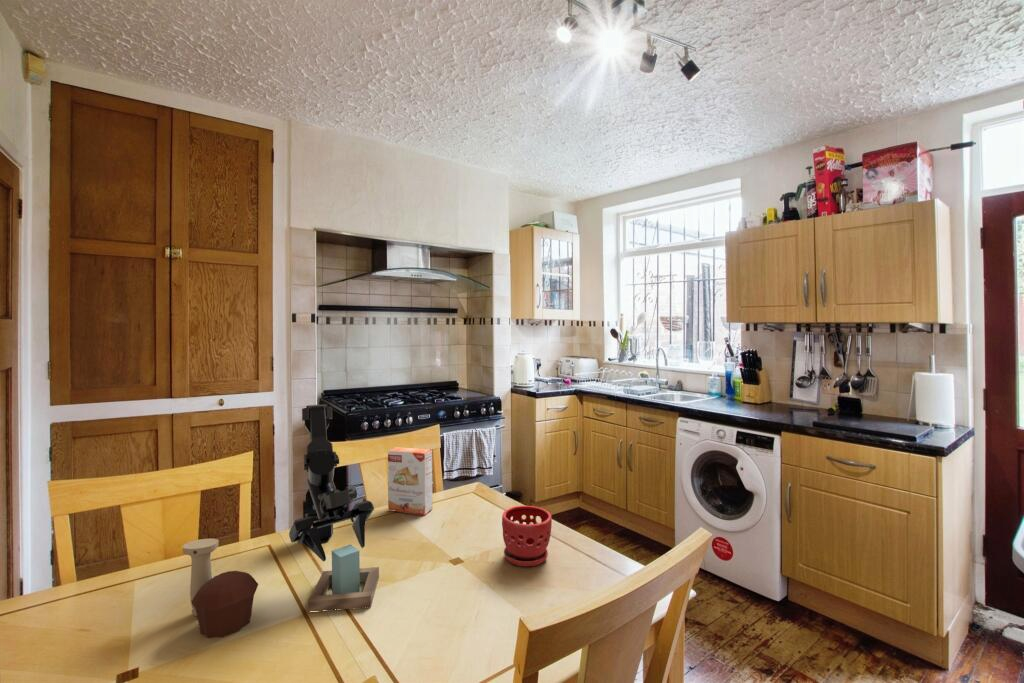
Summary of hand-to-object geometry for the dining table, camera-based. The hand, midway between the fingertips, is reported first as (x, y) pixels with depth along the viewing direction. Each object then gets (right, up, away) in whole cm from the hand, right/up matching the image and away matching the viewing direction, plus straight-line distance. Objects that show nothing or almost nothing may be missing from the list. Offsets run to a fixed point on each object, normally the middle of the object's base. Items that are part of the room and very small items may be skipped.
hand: (344, 553), depth 107 cm
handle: (-28, -10, -8) cm, 30 cm away
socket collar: (0, -9, 0) cm, 9 cm away
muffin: (-20, -10, -12) cm, 25 cm away
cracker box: (+4, -9, +51) cm, 52 cm away
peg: (0, -9, 0) cm, 9 cm away
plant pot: (+43, -9, +16) cm, 46 cm away
